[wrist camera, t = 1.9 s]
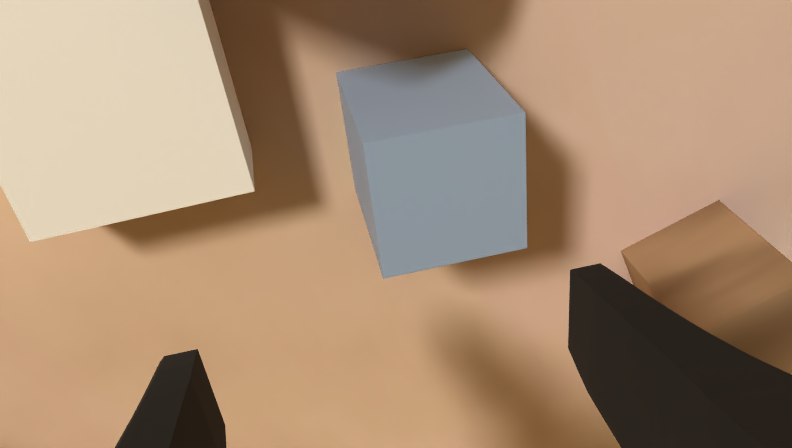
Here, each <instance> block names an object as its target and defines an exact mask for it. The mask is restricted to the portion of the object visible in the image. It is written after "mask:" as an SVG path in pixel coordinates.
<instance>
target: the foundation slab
mask: <svg viewBox="0 0 792 448" xmlns="http://www.w3.org/2000/svg"><path fill="white" fill-rule="evenodd" d="M0 186H1V187H2V189H3V191H4V193H5V195H6V197H7V199H8V201H9V203H10V205H11V206H12V208H13V210H14V212H15V214H16V216H17V218H18V220H19V222H20V224H21V226H22V227H23V229H24V231H25V233H26V235H27V237H28V239H29V241H30V242H33V241H37V240H42V239H46V238H51V237H55V236H60V235H64V234H68V233H73V232H77V231H82V230H86V229H91V228H95V227H99V226H104V225H108V224H113V223H117V222H121V221H126V220H130V219H135V218H139V217H144V216H148V215H152V214H157V213H161V212H166V211H170V210H175V209H179V208H183V207H188V206H192V205H197V204H201V203H206V202H210V201H214V200H219V199H223V198H228V197H232V196H236V195H241V194H245V193H250V192H254V191H255V188H254V173H253V159H252V147H251V144H250V141H249V137H248V134H247V130H246V127H245V123H244V120H243V116H242V113H241V109H240V106H239V102H238V99H237V95H236V92H235V88H234V85H233V81H232V78H231V75H230V71H229V68H228V64H227V61H226V57H225V54H224V50H223V47H222V43H221V40H220V36H219V33H218V29H217V26H216V22H215V19H214V15H213V12H212V9H211V5H210V2H209V0H0Z"/></svg>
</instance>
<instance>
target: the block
mask: <svg viewBox="0 0 792 448" xmlns="http://www.w3.org/2000/svg"><path fill="white" fill-rule="evenodd" d="M621 253H622V255H623V258H624V261H625V263H626V266H627V269H628V271H629V274H630V276H631V279H632V282H633V284H634V286H635V287H637V288H638V289H640V290H641V291H643V292H644V293H646V294H647V295H649V296H650V297H652V298H653V299H655V300H657V301H658V302H660V303H661V304H663V305H664V306H666V307H667V308H669V309H671V310H672V311H674V312H675V313H677V314H679V315H680V316H682V317H683V318H685V319H687V320H688V321H690V322H692V323H693V324H695V325H697V326H698V327H700V328H702V329H703V330H705V331H707V332H709V333H710V334H712V335H714V336H716V337H718V338H719V339H721V340H723V341H725V342H727V343H728V344H730V345H732V346H734V347H736V348H738V349H739V350H741V351H743V352H745V353H747V354H749V355H751V356H753V357H755V358H757V359H759V360H761V361H763V362H766V363H768V364H770V365H772V366H774V367H776V368H778V369H781V370H783V371H785V372H787V373H789V374H790V373H792V262H791V261H790V260H789V259H787V258H786V257H785V256H784V255H783V254H781V253H780V252H779V251H778V250H777V249H776V248H774V247H773V246H772V245H771V244H770V243H769V242H767V241H766V240H765V239H764V238H763V237H761V236H760V235H759V234H758V233H757V232H756V231H754V230H753V229H752V228H751V227H750V226H749V225H747V224H746V223H745V222H744V221H743V220H741V219H740V218H739V217H738V216H737V215H736V214H734V213H733V212H732V211H731V210H730V209H729V208H727V207H726V206H725V205H724V204H723V203H721V202H720V201H719V200H718V201H716V202H714V203H712V204H710V205H708V206H707V207H705V208H703V209H701V210H699V211H697V212H695V213H693V214H691V215H689V216H687V217H685V218H683V219H681V220H680V221H678V222H676V223H674V224H672V225H670V226H668V227H666V228H664V229H662V230H660V231H658V232H656V233H654V234H652V235H651V236H649V237H647V238H645V239H643V240H641V241H639V242H637V243H635V244H633V245H631V246H629V247H627V248H625V249H623V250H622V251H621Z"/></svg>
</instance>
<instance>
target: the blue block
mask: <svg viewBox="0 0 792 448" xmlns="http://www.w3.org/2000/svg"><path fill="white" fill-rule="evenodd" d="M336 75H337V81H338V87H339V93H340V99H341V105H342V111H343V117H344V123H345V129H346V136H347V142H348V148H349V154H350V160H351V166H352V172H353V178H354V184H355V190H356V193H357V196H358V200H359V203H360V206H361V209H362V212H363V216H364V219H365V222H366V225H367V228H368V231H369V235H370V238H371V241H372V244H373V247H374V251H375V254H376V257H377V260H378V263H379V267H380V270H381V273H382V276H383V279H384V278H388V277H393V276H398V275H403V274H407V273H412V272H417V271H421V270H426V269H431V268H436V267H440V266H445V265H450V264H455V263H459V262H464V261H469V260H473V259H478V258H483V257H488V256H492V255H497V254H502V253H506V252H511V251H516V250H521V249H525V248H527V186H526V113H525V111H524V110H523V109H522V108H521V107H520V106H519V105H518V104H517V103H516V101H515V100H514V99H513V98H512V97H511V96H510V95H509V94H508V93H507V92H506V90H505V89H504V88H503V87H502V86H501V85H500V84H499V83H498V82H497V81H496V79H495V78H494V77H493V76H492V75H491V74H490V73H489V72H488V71H487V70H486V68H485V67H484V66H483V65H482V64H481V63H480V62H479V61H478V60H477V58H476V57H475V56H474V55H473V54H472V53H471V52H470V51H469V50H468V49H464V50H458V51H452V52H447V53H441V54H436V55H430V56H424V57H419V58H413V59H408V60H402V61H396V62H391V63H385V64H380V65H374V66H368V67H363V68H357V69H352V70H346V71H340V72H336Z"/></svg>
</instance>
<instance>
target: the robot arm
mask: <svg viewBox="0 0 792 448" xmlns="http://www.w3.org/2000/svg"><path fill="white" fill-rule="evenodd" d="M568 349H569V351H570V353H571V356H572V358H573V360H574V362H575V365H576V367H577V369H578V372H579V374H580V376H581V378H582V380H583V383H584V385H585V387H586V389H587V391H588V393H589V395H590V397H591V398H592V400H593V402H594V403H595V405H596V407H597V408H598V410H599V412H600V413H601V415H602V417H603V418H604V420H605V422H606V423H607V425H608V427H609V428H610V430H611V431H612V433H613V435H614V436H615V438H616V440H617V441H618V443H619V444H620V446H621V448H792V375H791V374H789V373H787V372H785V371H783V370H781V369H778V368H776V367H774V366H772V365H770V364H768V363H766V362H763V361H761V360H759V359H757V358H755V357H753V356H751V355H749V354H747V353H745V352H743V351H741V350H739V349H738V348H736V347H734V346H732V345H730V344H728V343H727V342H725V341H723V340H721V339H719V338H718V337H716V336H714V335H712V334H710V333H709V332H707V331H705V330H703V329H702V328H700V327H698V326H697V325H695V324H693V323H692V322H690V321H688V320H687V319H685V318H683V317H682V316H680V315H679V314H677V313H675V312H674V311H672V310H671V309H669V308H667V307H666V306H664V305H663V304H661V303H660V302H658V301H657V300H655V299H653V298H652V297H650V296H649V295H647V294H646V293H644V292H643V291H641V290H640V289H638V288H637V287H635V286H634V285H632V284H631V283H629V282H628V281H626V280H625V279H623V278H622V277H620V276H619V275H617V274H616V273H614V272H613V271H611V270H610V269H608V268H607V267H605V266H603V265H602V264H595V265H591V266H586V267H581V268H576V269H572V270H570V300H569V339H568ZM115 448H226V434H225V424H224V421H223V418H222V415H221V413H220V410H219V407H218V404H217V402H216V399H215V396H214V393H213V390H212V388H211V385H210V382H209V379H208V377H207V374H206V371H205V368H204V366H203V363H202V360H201V357H200V355H199V352H198V349H196V350H191V351H187V352H182V353H177V354H173V355H168V356H164V357H163V359H162V360H161V361H160V363H159V365H158V367H157V369H156V371H155V373H154V375H153V377H152V379H151V381H150V383H149V385H148V387H147V389H146V391H145V393H144V395H143V397H142V399H141V401H140V403H139V405H138V407H137V409H136V411H135V413H134V415H133V416H132V418H131V420H130V422H129V424H128V425H127V427H126V429H125V431H124V432H123V434H122V436H121V438H120V440H119V441H118V443H117V445H116V447H115Z"/></svg>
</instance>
